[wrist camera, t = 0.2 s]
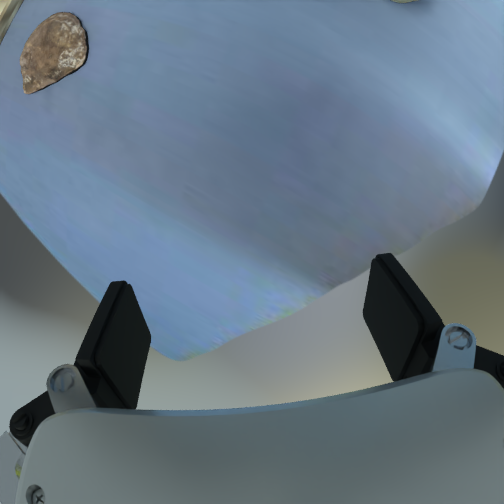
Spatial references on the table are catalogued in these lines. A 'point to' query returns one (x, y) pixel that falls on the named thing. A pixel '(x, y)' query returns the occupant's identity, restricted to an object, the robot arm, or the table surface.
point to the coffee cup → (403, 1)
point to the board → (7, 14)
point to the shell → (53, 51)
